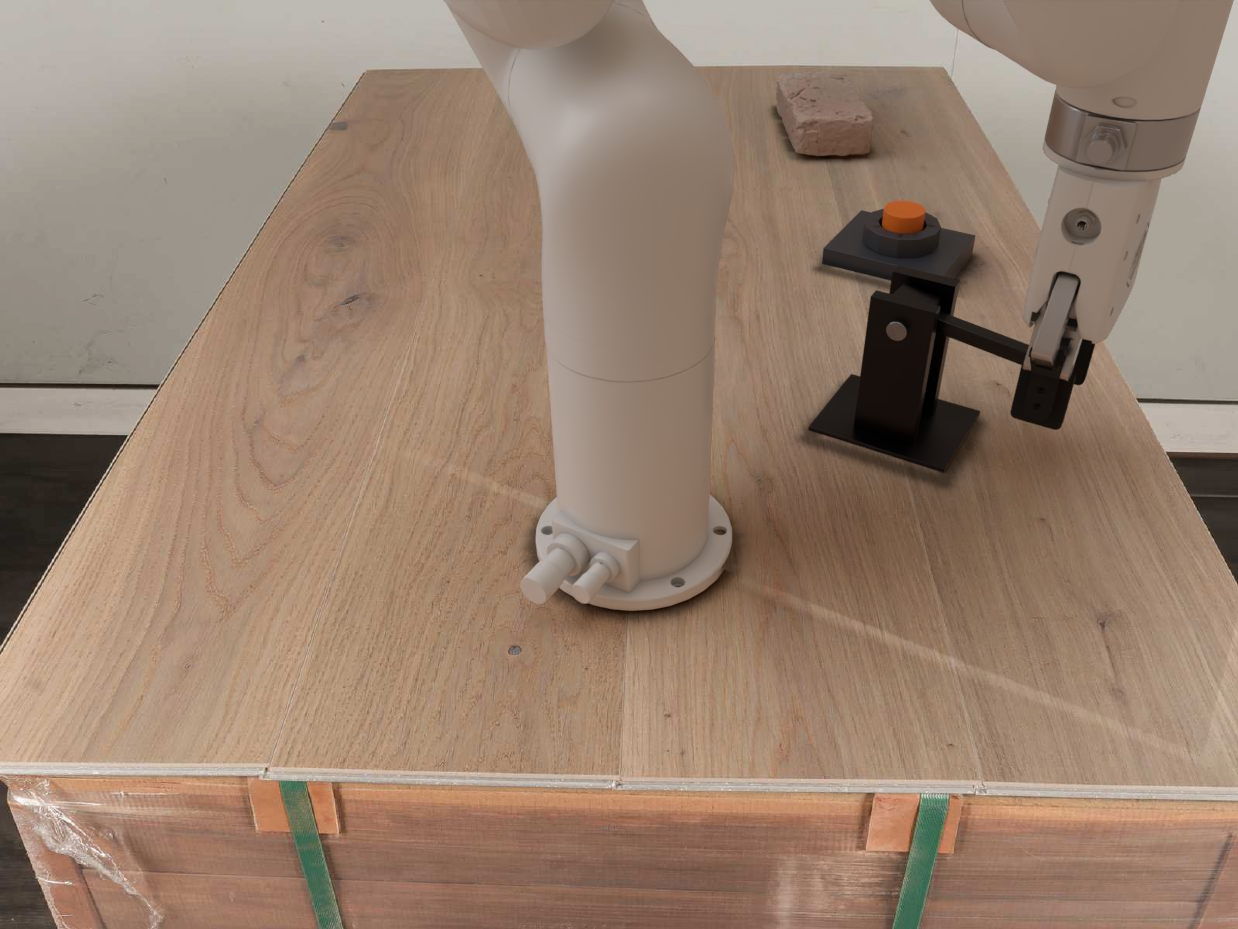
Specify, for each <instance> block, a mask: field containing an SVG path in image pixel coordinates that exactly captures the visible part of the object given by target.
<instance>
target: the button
mask: <svg viewBox="0 0 1238 929" xmlns="http://www.w3.org/2000/svg"><path fill="white" fill-rule="evenodd" d="M883 209H884V211H883V219H882V228H884V229H886V230H888V231H891V232H896V233H900V234H913V233H916V232H920V231H922V230H923V225H924V218H925V212H926V208H925V206H923V205H921V204H920V203H917V202H914V201H909V200H894V201H890V202H887V203H886V204H885V205H884V207H883ZM926 213H927V212H926Z"/></svg>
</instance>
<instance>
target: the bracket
mask: <svg viewBox="0 0 1238 929" xmlns="http://www.w3.org/2000/svg"><path fill="white" fill-rule="evenodd" d="M903 283H905V284H907V285H910V286H913V287H915V288H918V289H921V290H923V291H926V292H929V293H931V294H934V295H937V296H939V297H941V301H940V304H939V306H937V305H933V304H929V303H925V302H921V301H917V300H913V299H909V298H905V297H901V296H897V295H893V294H894V293H895V292H896V291H897V290H898V288H899V287H900V286H901V285H902V284H903ZM960 284H961V280H960V279H956V278H955V279H953V278H948V277H944V276H940V275H936V274H932V273H927V272H923V271H919V270H915V269H911V268H906V267H902V266H897V267H896V268H895V269H894V270H893V271H892V278H891V281H890V286H889V292H885V291H881V290H877V289H876V290H874V292H873V293H872V294H871V295H870V298H869V306H868V307H869V308H868V313H867V322H866V328H865V329H866V330H865V338H864V344H863V350H862V359H861V367H860V374H859V375H858V374H854V373H851V374H850V375H849V376H848V377H847V379H846V380H845V381H844V382H843V384H842V385H841V386H840V387H839V388H838V390H837V391H836V392H835V394H833V396H832V397H831V398H830V400H829V401H828V402H827V403H826V404H825V406H824V407H823V408H822V409H821V411H820V412H819V413H818V414H817V416H815V418H814V419H813V420H812V422H811V423H810V424H809V425H808V428H807V431H810V432H814V433H816V434H818V435H819V434H820V435H823V436H826V437H828V438H832V439H834V440H835V439H836V440H838V441H842V442H844V443H849V444H851V445H855V446H858V447H860V448H864V449H866V450H870V451H873V452H876V453H880V454H883V455H886V456H889V457H892V458H895V459H898V460H901V461H904V462H908V463H911V464H915V465H918V466H921V467H924V468H926V469H931V470H934V471H936V472H940V473H945V472H946V470H947V469H948V467H949V466H950V463H951V462H952V460H953V459H954V458H955V456H956V454H957V452H958V451H959V450H960V448H961V446H962V444H963V443H964V441H965V439H966V438H967V437H968V435H969V433H970V431H971V430H972V428H973V426H974V425H975V423H976V421H977V420H978V418H979V417H980V414H981V410H978V409H975V408H971V407H969V406H964V405H961V404H958V403H955V402H951V401H947V400H944V399H940V398H939V396H940V390H941V386H942V380H943V375H944V370H945V364H946V358H947V354H948V349H949V342H950V339H951V338H950V337H947V336H945V335H942V334H939V333H937V332H936V328H937V323H938V317H939V311H941V312H944V313H946V314H949V315H952V316H954V315H955V311H956V304H957V299H958V293H959V288H960ZM954 317H955V316H954Z"/></svg>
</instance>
